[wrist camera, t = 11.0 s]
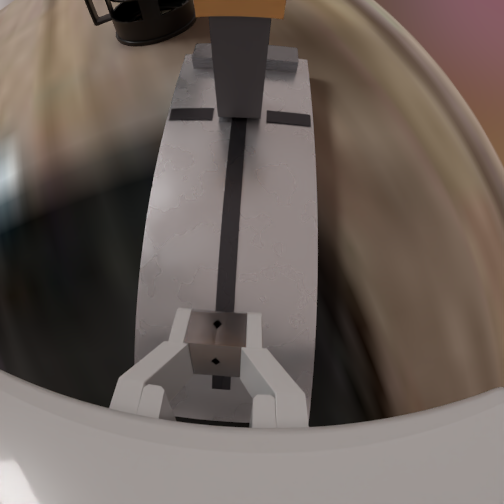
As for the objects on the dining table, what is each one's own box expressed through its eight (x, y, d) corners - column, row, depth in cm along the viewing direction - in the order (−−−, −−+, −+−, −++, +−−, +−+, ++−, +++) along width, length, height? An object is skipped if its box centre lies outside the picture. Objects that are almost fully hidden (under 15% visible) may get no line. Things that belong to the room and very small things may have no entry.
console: (301, 411, 16) (313, 429, 13) (145, 400, 16) (127, 415, 13) (303, 75, 21) (309, 49, 18) (188, 70, 21) (184, 44, 18)
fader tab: (268, 123, 17) (287, -13, 7) (209, 121, 17) (192, -14, 7) (268, 94, 18) (285, -32, 8) (214, 91, 18) (204, -34, 8)
